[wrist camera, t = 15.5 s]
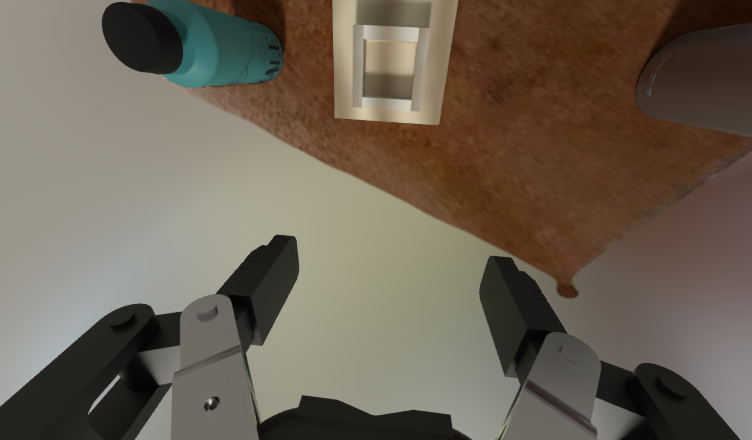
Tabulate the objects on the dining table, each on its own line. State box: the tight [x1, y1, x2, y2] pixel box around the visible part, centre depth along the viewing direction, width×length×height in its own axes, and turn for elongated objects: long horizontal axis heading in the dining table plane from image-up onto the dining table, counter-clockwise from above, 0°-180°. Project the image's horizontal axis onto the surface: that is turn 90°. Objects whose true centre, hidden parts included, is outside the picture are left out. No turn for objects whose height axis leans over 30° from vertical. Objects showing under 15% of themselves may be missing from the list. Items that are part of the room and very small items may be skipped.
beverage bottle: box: [102, 0, 283, 88], centre depth 26 cm, size 6×7×20 cm
